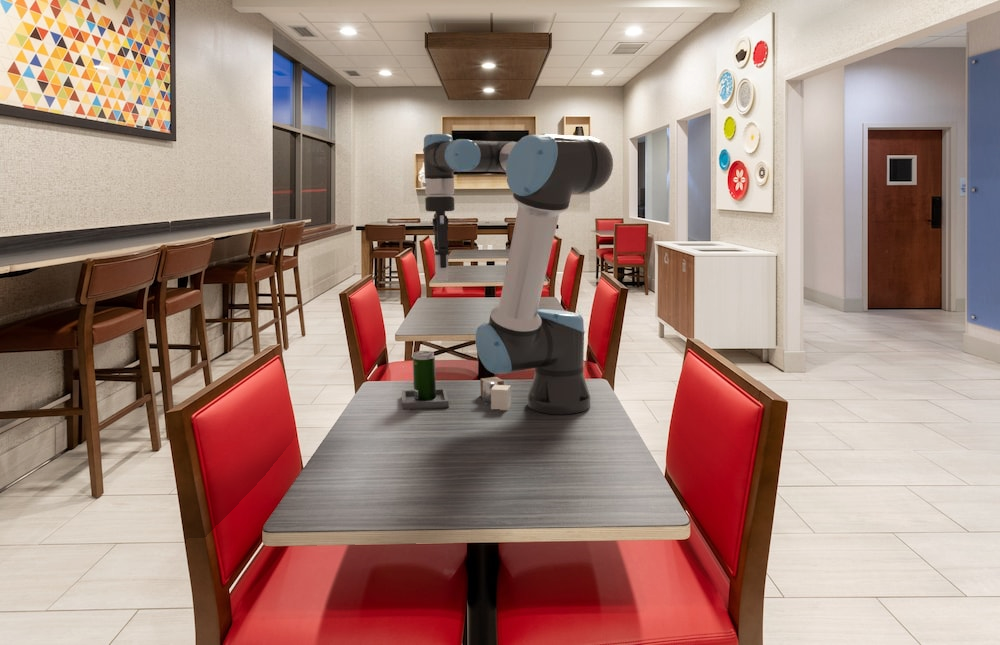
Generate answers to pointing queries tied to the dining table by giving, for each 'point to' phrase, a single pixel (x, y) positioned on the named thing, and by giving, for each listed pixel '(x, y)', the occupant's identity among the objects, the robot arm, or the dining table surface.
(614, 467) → the dining table surface
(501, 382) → the walnut block
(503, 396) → the cream block
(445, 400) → the tray
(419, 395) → the green soda can
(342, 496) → the dining table surface
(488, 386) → the grey metal cylinder
